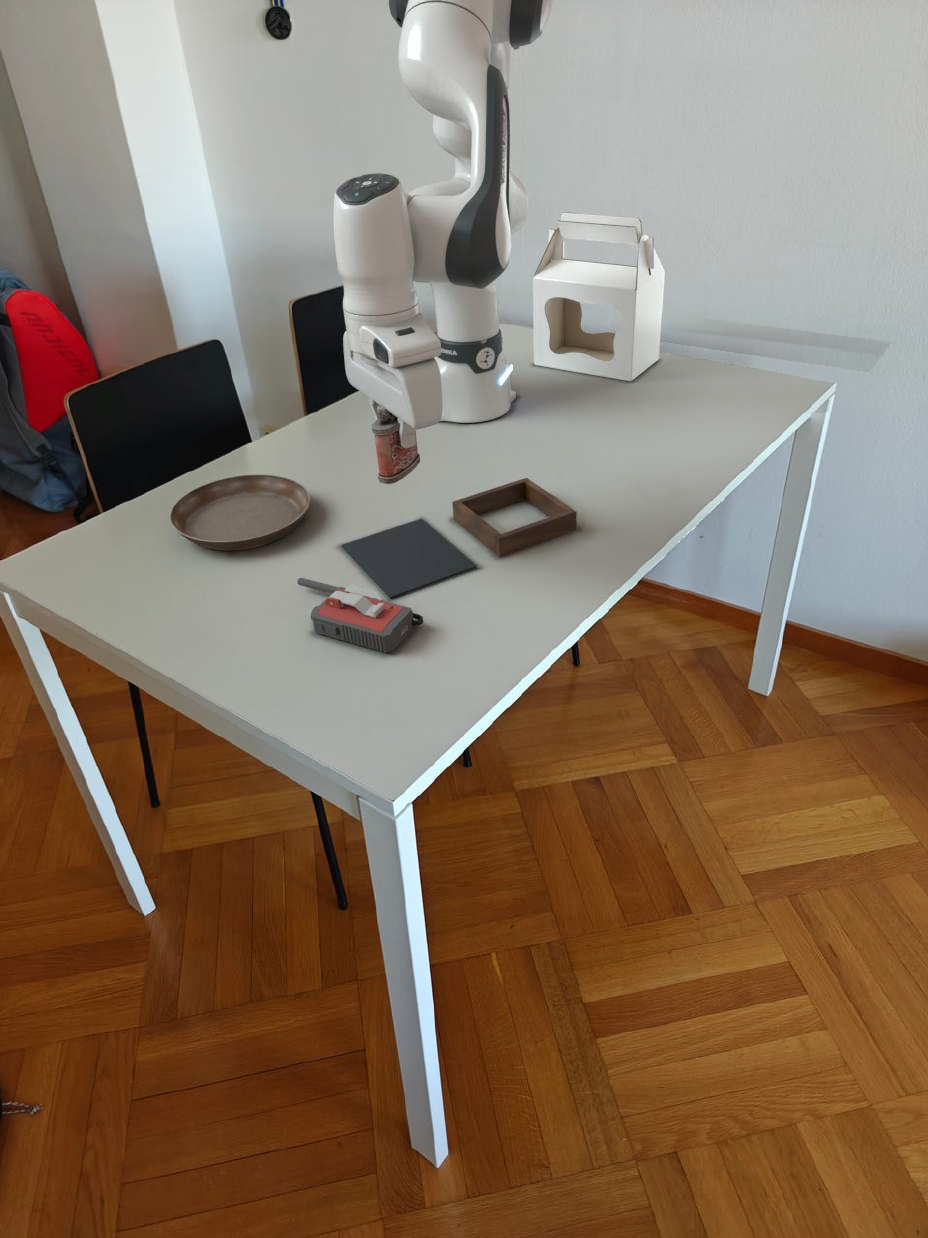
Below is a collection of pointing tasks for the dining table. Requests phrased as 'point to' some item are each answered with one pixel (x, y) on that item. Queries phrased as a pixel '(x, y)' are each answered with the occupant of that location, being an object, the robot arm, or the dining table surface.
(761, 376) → the dining table surface
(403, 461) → the lighter
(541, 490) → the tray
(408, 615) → the walkie-talkie
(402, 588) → the mat
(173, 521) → the plant saucer
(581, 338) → the gable box
